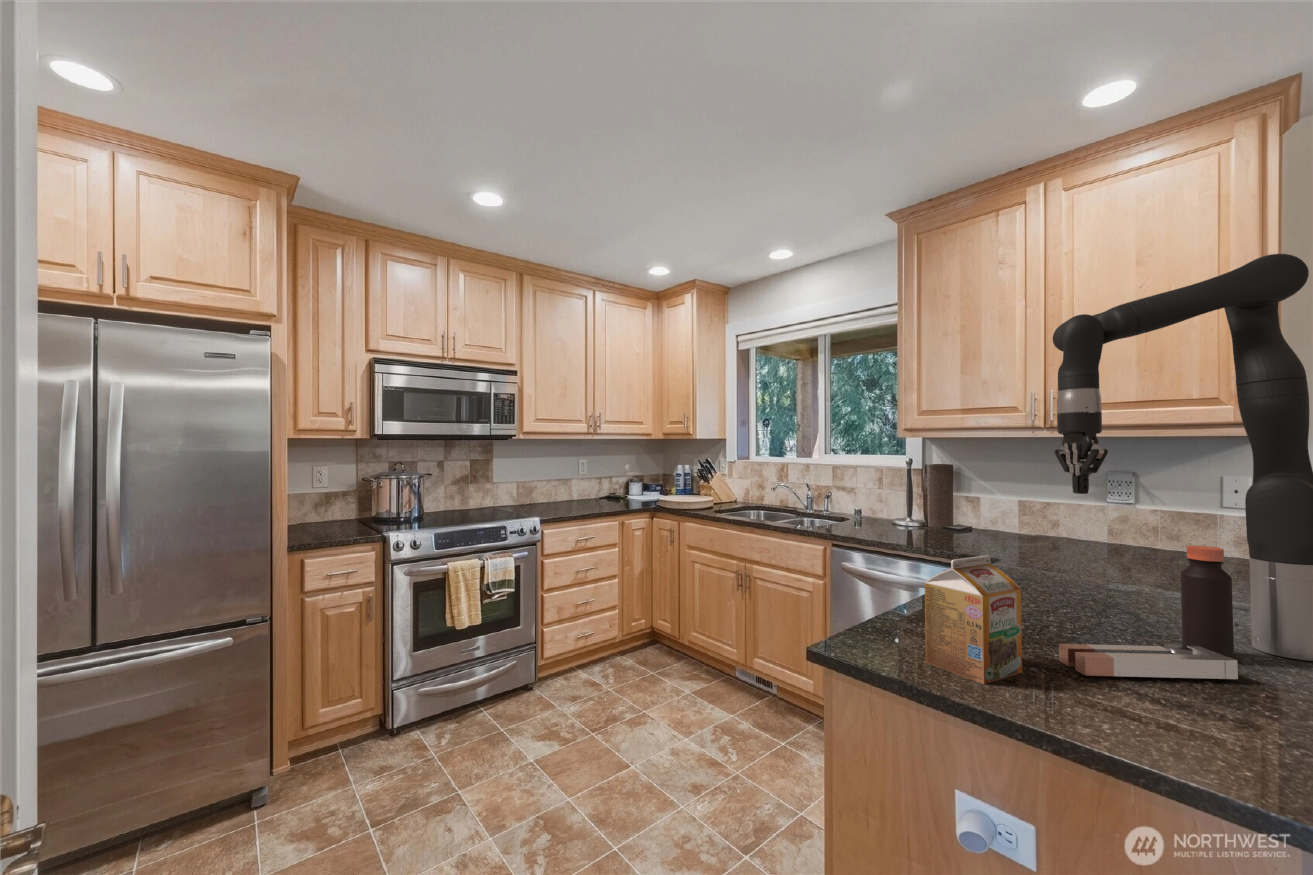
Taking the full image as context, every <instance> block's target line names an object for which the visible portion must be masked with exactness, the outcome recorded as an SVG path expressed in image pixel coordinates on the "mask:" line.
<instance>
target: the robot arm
mask: <svg viewBox="0 0 1313 875" xmlns="http://www.w3.org/2000/svg"><path fill="white" fill-rule="evenodd" d="M1309 272H1310V271H1309V267H1308V266H1307V264H1306V263H1305V262H1304V261H1303V259H1302V258H1299V257H1298V256H1295V255H1292V254H1287V253H1272V254H1271V253H1270V254H1267V255H1263V256H1260V257H1257V258H1255V259H1253V260H1251V261H1249V262H1247V263H1245V264H1244V265H1243V264H1242V266H1240V267H1239V266H1238V267H1237V268H1236V269H1233V270H1231V271H1228V272H1226V273H1222V274H1219V275H1217V276H1215V277H1212V278H1209V279H1205V280H1203V281H1199V282H1196V283H1193V284H1190V285H1186V286H1182V287H1180V288H1176V289H1172V290H1168V291H1164V292H1161V293H1158V294H1157V293H1156V294H1155V295H1154V294H1153V295H1150V296H1146V297H1142V298H1139V299H1136V300H1132V301H1128V302H1125V303H1122V304H1119V305H1115V306H1114V307H1111V308H1109V309H1106V310H1105V311H1102V312H1100V313H1097V314H1093V315H1091V314H1086V313H1084V314H1077V315H1074V316H1072V317H1071V318H1069V319H1067V320H1066V321H1064V322H1063V323H1061V324H1060V325H1059V326H1057V328H1056V329H1055V330H1054V332H1053V334H1052V344H1053V346H1054V347H1055V348H1056V349H1057V350H1059V351H1060V352H1062V362H1061V364H1060V365H1059V367H1058V370H1057V399H1056V424H1057V425H1056V427H1057V428H1056V429H1057V430H1056V431H1057V433H1058V434H1059V435H1063V436H1062V437H1063V438H1062V441H1061V445H1062V446H1061V447H1060V449H1058V448H1057V449H1054V455H1055V456H1056V458H1057V461H1058V462H1059V464H1060V466H1061V468H1062V470H1063V472H1064V473H1069V475H1070V476H1071V477H1072V478H1071V479H1072V480H1071V482H1072V486H1071V487H1072V493H1073V494H1077V495H1087V494H1089V490H1090V487H1089V486H1090V484H1089V483H1090V482H1089V481H1090V479H1089V478H1090V476H1091V475H1092V474H1097V473H1098V472H1099V469H1100V468H1101V466H1102V465H1103V462H1104V461H1105V459H1106V457H1107V455H1108V451H1109V450H1108V449H1107V448H1102V447H1101V446H1100V445H1099V439H1098V437H1097V435H1098V434H1101V433H1102V432H1103V418H1102V417H1103V416H1102V415H1103V414H1102V412H1103V411H1102V396H1101V390H1100V371H1099V370H1100V369H1099V366H1100V362H1101V359H1102V358H1101V357H1102V351H1103V347H1104V345H1105V344H1107V343H1110V342H1114V341H1118V340H1121V339H1126V338H1131V337H1136V336H1139V335H1142V334H1146V333H1150V332H1153V331H1156V330H1157V331H1158V330H1160V329H1164V328H1166V327H1170V326H1173V325H1175V324H1178V323H1182V322H1184V321H1187V320H1190V319H1193V318H1195V317H1199V316H1200V315H1201V316H1202V315H1204V314H1208V313H1210V312H1214V311H1217V310H1221V309H1224V313H1225V315H1226V316H1225V317H1226V321H1227V323H1228V326H1229V331H1230V336H1231V343H1232V356H1233V363H1234V371H1235V373H1234V374H1235V385H1236V387H1235V388H1236V389H1235V390H1236V395H1237V403H1238V409H1239V414H1240V417H1241V421H1242V424H1243V428H1244V430H1245V434H1246V436H1247V438H1248V441H1249V444H1250V447H1251V452H1252V459H1253V460H1252V467H1253V468H1252V469H1253V471H1252V485H1250V486H1249V488H1248V489H1247V491H1246V493H1245V498H1244V499H1245V503H1244V507H1245V508H1244V510H1245V526H1246V528H1245V530H1246V541H1247V542H1246V543H1247V546H1248V559H1249V581H1250V582H1249V585H1250V586H1249V589H1250V590H1249V591H1250V615H1251V616H1250V617H1251V618H1250V619H1251V621H1250V622H1251V623H1250V624H1251V647H1252V648H1254V649H1256V650H1257V651H1260V652H1263V653H1267V654H1270V655H1273V656H1278V657H1282V658H1287V659H1294V660H1300V661H1309V662H1313V467H1312V463H1311V459H1310V454H1309V453H1310V452H1309V434H1310V395H1309V385H1308V377H1307V372H1306V369H1305V367H1304V364H1303V363H1302V361H1301V360H1300V358H1299V356H1298V355H1297V354H1296V352H1295V351H1294V350H1293V348H1292V347H1291V346H1290V345H1289V343H1288V342H1287V341H1286V339H1285V338H1284V335H1283V333H1282V330H1281V326H1280V315H1279V304H1280V302H1282V301H1285V300H1287V299H1288V298H1290V297H1292V296H1294V295H1296V294H1297V293H1298V292H1299V291H1300V290H1301V289H1302V288H1304V286H1305V285H1306V284H1307V283H1308V282H1307V281H1308V279H1309V274H1310V273H1309Z"/></svg>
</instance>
